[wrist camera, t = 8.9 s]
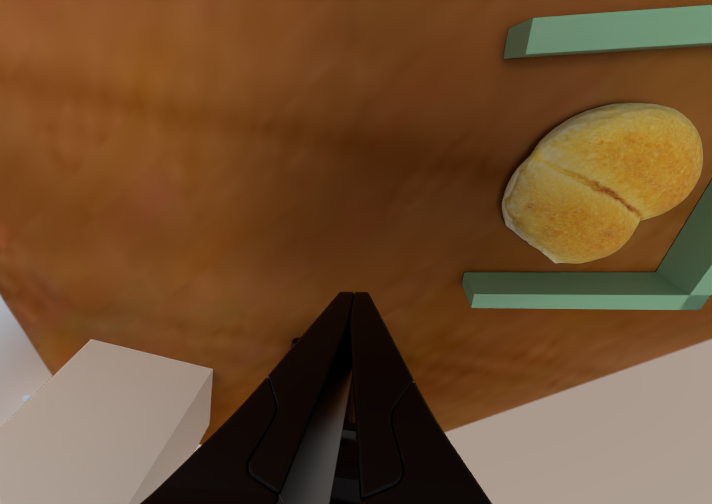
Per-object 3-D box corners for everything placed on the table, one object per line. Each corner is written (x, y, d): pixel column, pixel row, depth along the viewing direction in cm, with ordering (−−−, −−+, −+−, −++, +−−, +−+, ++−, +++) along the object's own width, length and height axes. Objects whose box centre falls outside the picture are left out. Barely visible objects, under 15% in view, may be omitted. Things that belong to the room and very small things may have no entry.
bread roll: (697, 154, 16) (785, 174, 12) (558, 263, 20) (596, 300, 17) (604, 60, 14) (678, 53, 11) (472, 202, 18) (494, 229, 15)
